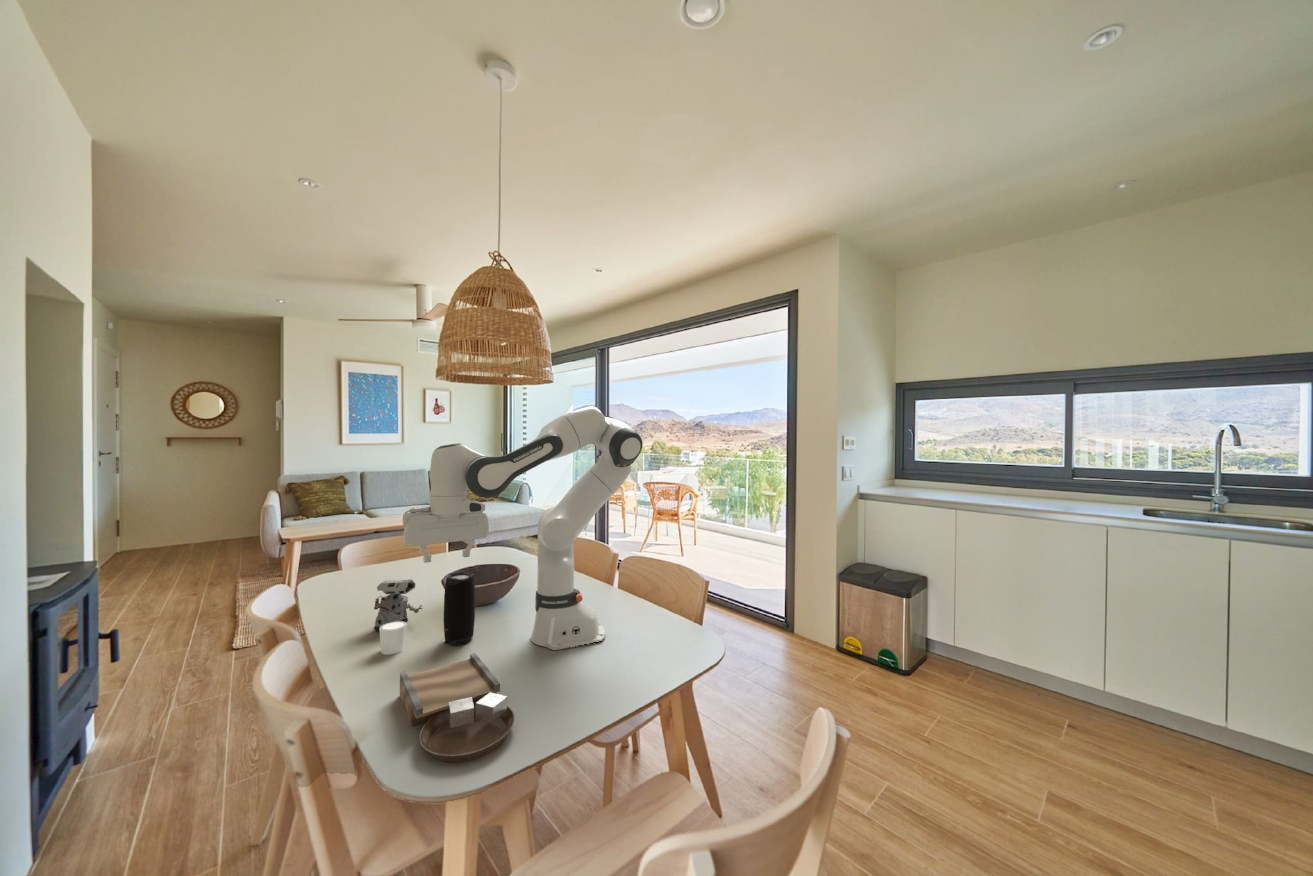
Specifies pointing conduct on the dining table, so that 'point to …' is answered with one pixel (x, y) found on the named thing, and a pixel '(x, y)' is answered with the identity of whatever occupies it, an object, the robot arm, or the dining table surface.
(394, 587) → the figurine
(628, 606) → the dining table surface
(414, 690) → the brown and grey tray
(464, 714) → the off-white small block
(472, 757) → the plant saucer
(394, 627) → the white cylinder
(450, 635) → the portable speaker
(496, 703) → the silver block
